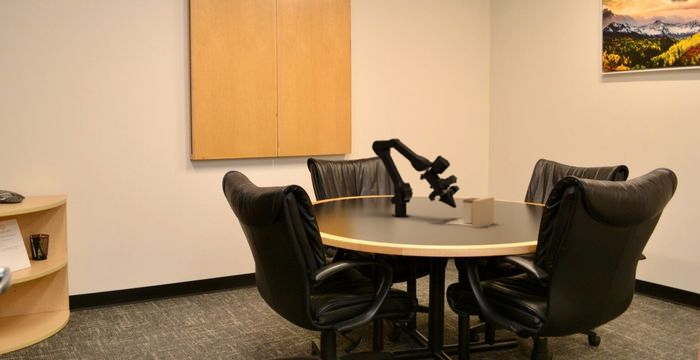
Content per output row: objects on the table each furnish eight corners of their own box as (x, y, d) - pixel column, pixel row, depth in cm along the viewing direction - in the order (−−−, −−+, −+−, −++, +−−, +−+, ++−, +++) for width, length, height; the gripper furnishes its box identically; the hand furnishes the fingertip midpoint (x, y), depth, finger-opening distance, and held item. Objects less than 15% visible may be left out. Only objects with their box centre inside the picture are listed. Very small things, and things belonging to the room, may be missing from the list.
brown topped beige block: (462, 222, 276) (463, 199, 275) (471, 219, 282) (472, 197, 281) (471, 223, 274) (471, 200, 273) (480, 220, 280) (480, 198, 279)
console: (445, 223, 278) (446, 197, 277) (461, 219, 289) (461, 194, 288) (478, 227, 268) (479, 200, 267) (493, 223, 279) (494, 197, 278)
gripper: (435, 170, 277) (456, 198, 271) (456, 167, 291) (477, 193, 286) (419, 187, 283) (440, 214, 277) (441, 183, 297) (461, 209, 291)
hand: (455, 207), depth 282 cm, fingers closed
